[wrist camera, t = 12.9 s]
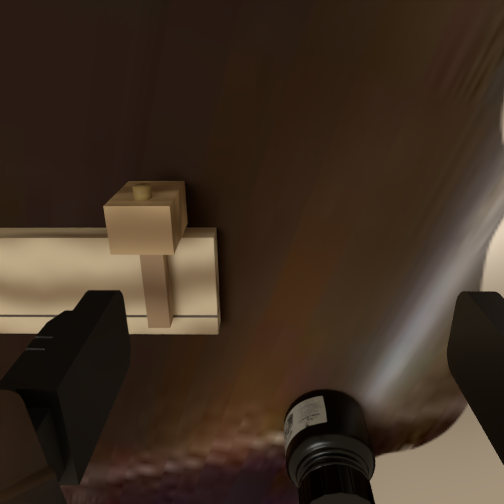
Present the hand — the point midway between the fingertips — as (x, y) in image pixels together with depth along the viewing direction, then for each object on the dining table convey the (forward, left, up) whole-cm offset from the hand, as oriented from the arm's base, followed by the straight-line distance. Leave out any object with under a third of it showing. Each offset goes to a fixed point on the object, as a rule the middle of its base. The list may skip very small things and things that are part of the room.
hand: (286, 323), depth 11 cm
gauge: (+10, -10, -30) cm, 33 cm away
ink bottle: (+32, +6, -30) cm, 44 cm away
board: (+14, -19, -30) cm, 38 cm away
